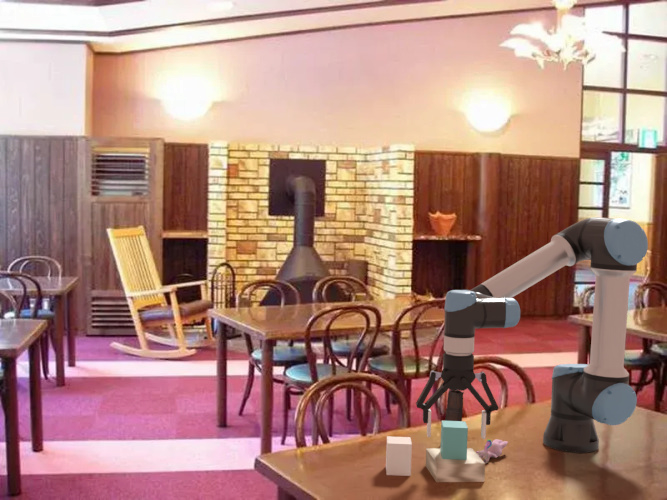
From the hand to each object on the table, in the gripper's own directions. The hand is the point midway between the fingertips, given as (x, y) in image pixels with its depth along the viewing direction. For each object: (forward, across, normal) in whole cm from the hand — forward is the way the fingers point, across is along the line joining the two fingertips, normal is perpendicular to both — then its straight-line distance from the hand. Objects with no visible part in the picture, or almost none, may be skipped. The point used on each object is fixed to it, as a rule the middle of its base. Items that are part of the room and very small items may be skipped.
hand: (455, 436), depth 209 cm
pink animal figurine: (+10, -11, -14) cm, 20 cm away
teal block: (+5, 0, 0) cm, 5 cm away
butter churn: (+10, -3, -25) cm, 27 cm away
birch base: (+10, 0, 0) cm, 10 cm away
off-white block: (+9, +14, 0) cm, 17 cm away
